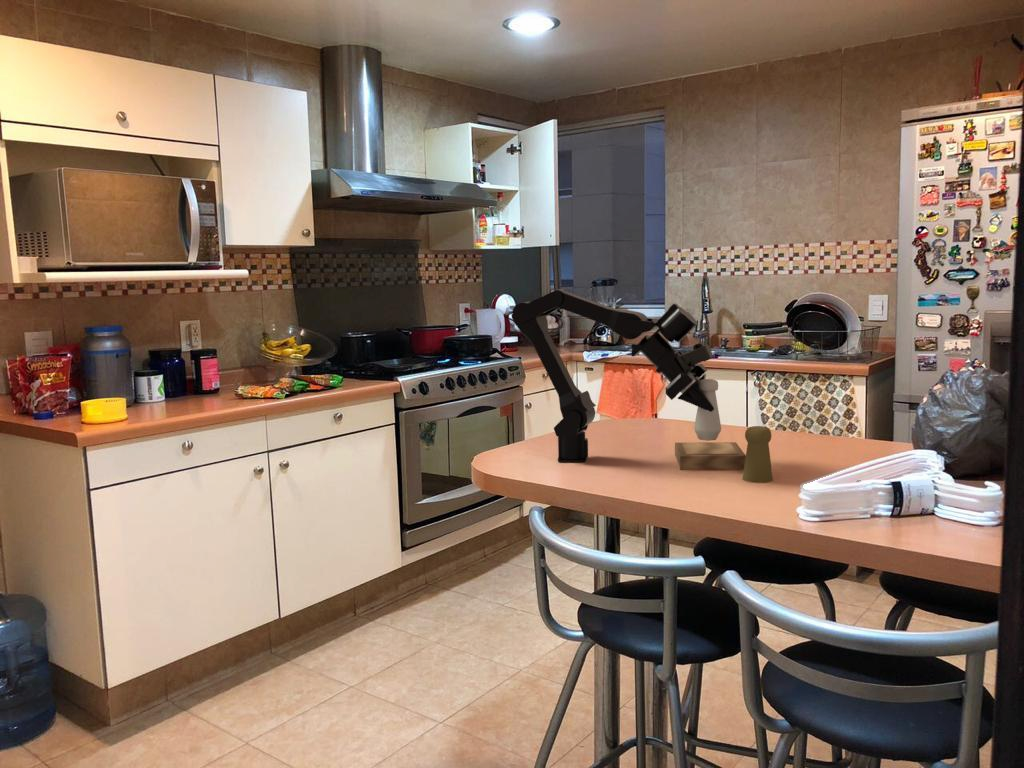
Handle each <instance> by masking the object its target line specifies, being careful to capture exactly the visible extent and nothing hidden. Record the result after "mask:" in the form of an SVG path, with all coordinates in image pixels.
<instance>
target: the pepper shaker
mask: <svg viewBox="0 0 1024 768" xmlns="http://www.w3.org/2000/svg"><path fill="white" fill-rule="evenodd" d="M744 437H745V440H746V443H747V446H746V452H745V453H746V454H745V455H746V458H745V465H744V470H743V472H742V474H743V475H742V480H743V481H745V482H749V483H756V484H763V483H771V482H773V481H774V478H773V477H774V476H773V470H772V461H771V453H770V446H769V443H770V442H771V440H772V431H771V429H770V428H769V427H766V426H762V425H755V426H749V427H748V428H746V430H745V433H744Z"/></svg>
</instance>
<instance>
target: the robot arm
mask: <svg viewBox="0 0 1024 768" xmlns="http://www.w3.org/2000/svg"><path fill="white" fill-rule="evenodd" d="M558 309H562V310H563V311H564V310H565V311H566V312H570V313H572V314H576V315H578V316H581V317H584V318H586V319H588V320H592V321H594V322H597V323H599V324H602V325H604V326H605V327H607V329H608V328H609V330H610V331H612V332H613V333H615V334H617V335H619V336H620V337H622V338H624V339H626V340H635V339H638V338H641V337H643V336H644V337H643V338H641V339H640V341H639V342H637V343H636V342H635V343H631V345H630V347H631V354H630V355H631V357H636V356H638V355H639V354H640V353H641V354H642V355H643V356H644V357H645V358H646V359H647V360H648V361H649V362H650V363H651V364H652V365H653V366H654V367H655V372H656V373H657V374H661V375H662V376H663V377H664V378H665V379H666V380H667V381H668V382H669V383H668V385H667V386H665V395H666V396H667V397H668V398H669V400H671V401H672V400H674V399H675V398H677V400H680V401H684V402H686V403H689V404H691V405H693V406H696V407H697V408H698V407H700V408H702V409H705V410H709V411H710V412H712V411H713V410H714V407H713V406H712V404H711V403H710V401H709V400H708V398H707V397H706V396H705V394H704V393H703V391H702V390H701V389H700V380H703V379H707V378H706V377H707V374H706V372H707V371H708V369H707V368H706V366H705V365H704V364H703V363H702V362H707V361H709V360H711V359H712V358H714V355H713V353H712V351H711V350H712V348H711V347H710V346H709V344H708V343H707V344H704V343H703V342H702V341H700V342H698V343H695V344H694V345H693V350H690V351H688V352H686V353H684V352H683V351H682V350H676V349H675V348H674V347H673V346H672V345H671V343H673V342H674V341H675V342H677V343H680V342H681V341H682V340H683V339H684V338H685V337H686V336H687V335H688V334H689V333H690V332H691V331H692V330H693V329H695V327H696V326H697V325H698V323H699V322H697V320H696V318H694V316H693V315H692V314H691V313H690V312H689V311H686V310H685V309H683V308H682V307H681V306H679V305H678V304H677V302H676V303H675V302H674V303H672V304H671V305H670V307H668V309H667V311H665V313H663V315H661V317H659V319H657V318H652V317H651V318H650V317H647V315H646V314H644V313H642V312H639V311H634V310H628V309H621V308H614V307H610V306H607V305H604V304H601V303H599V302H596V301H594V300H591V299H588V298H585V297H582V296H579V295H578V294H574V293H571V292H569V291H568V290H566V289H562V288H560V289H553V290H551V291H550V292H548V293H547V294H544V295H542V296H540V297H537V298H536V299H534V300H531V301H525V302H524V301H523V302H519V303H517V304H515V306H514V307H513V309H512V312H511V320H512V322H513V323H514V325H515V326H516V328H518V330H519V331H520V333H521V334H523V335H524V336H525V337H526V338H527V340H529V341H530V342H531V344H532V346H533V348H534V350H535V352H536V354H537V357H539V360H540V362H541V364H542V366H543V368H544V370H545V372H546V374H547V375H548V378H549V379H550V382H551V384H552V386H553V387H554V390H555V392H556V393H557V396H558V403H559V410H560V413H561V416H562V419H561V420H559V421H558V423H556V425H555V426H553V430H554V433H555V436H556V437H557V449H558V453H557V454H558V455H557V457H558V458H557V462H558V463H560V462H561V463H575V462H576V463H579V462H580V463H581V462H583V463H585V462H587V458H589V438H587V437H586V431H587V430H588V427H589V425H590V424H591V423H592V422H593V421H594V420H595V417H596V410H595V407H596V404H595V402H594V401H593V400H592V398H591V395H590V393H589V391H588V390H585V391H583V392H582V391H581V390H580V389H579V388H578V387H577V386H576V384H575V382H574V380H573V378H572V377H571V374H570V372H569V370H568V368H567V366H566V364H565V363H564V361H563V359H562V357H561V355H560V353H559V350H558V349H557V346H556V344H555V343H554V341H553V339H552V337H551V335H550V332H549V322H548V318H547V316H548V315H550V314H551V313H553V312H555V311H557V310H558ZM654 330H656V331H655V332H654V333H653V334H652V335H648V334H647V332H651V331H654ZM645 334H646V335H645ZM669 342H670V343H669ZM680 393H681V394H680ZM679 394H680V395H679ZM678 395H679V396H678ZM677 396H678V397H677Z"/></svg>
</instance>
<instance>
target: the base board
mask: <svg viewBox="0 0 1024 768" xmlns="http://www.w3.org/2000/svg"><path fill="white" fill-rule="evenodd" d="M674 456H675V459H676V462H677V465H678V467H679V470H681V471H683V470H692V471H693V470H694V471H695V470H698V471H699V470H701V471H703V470H704V471H705V470H707V471H709V470H713V471H715V470H724V471H725V470H728V471H729V470H731V471H733V470H739V471H741V470H742V471H744V465H745V458H746V454H745V453H744V451H743V450H742V449H741V447H740V446H739V444H738V443H737V441H735V442H733V441H732V442H731V441H730V442H729V441H728V442H727V441H726V442H721V441H717V442H716V441H715V442H713V441H712V442H709V441H708V442H707V441H706V442H704V441H703V442H702V441H701V442H697V441H696V442H674Z"/></svg>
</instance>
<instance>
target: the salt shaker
mask: <svg viewBox="0 0 1024 768" xmlns="http://www.w3.org/2000/svg"><path fill="white" fill-rule="evenodd" d="M700 389H701V390H702V391H703V393H704V394H705V396H706V397H707V398H708V400H709V401H710V403H711V404H712V406H713V407H714V410H713V411H712V412H710V411H709V410H705V409H702V408H700V407H698V406H697V410H696V411H697V412H696V415H695V420H694V426H693V429H694V433H695V434H696V437H697V439H698V440H700V441H706V442H707V441H708V442H709V441H716V440H717V439H718V437H719V435H720V433H721V431H722V425H721V418H720V413H719V405H718V400H717V393H716V391H718V390H719V381H718V380H717V379H716V380H715V379H712V378H705V379H703V380H700Z"/></svg>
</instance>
